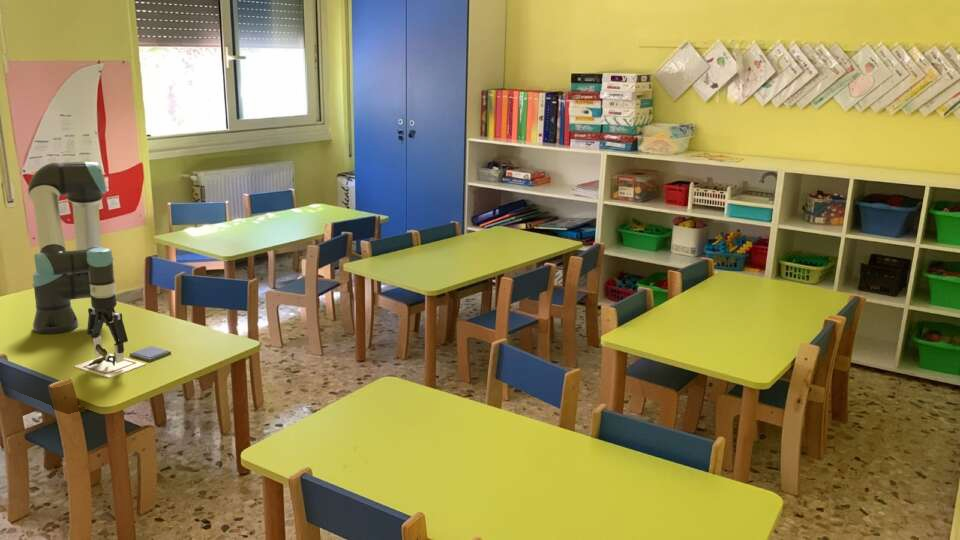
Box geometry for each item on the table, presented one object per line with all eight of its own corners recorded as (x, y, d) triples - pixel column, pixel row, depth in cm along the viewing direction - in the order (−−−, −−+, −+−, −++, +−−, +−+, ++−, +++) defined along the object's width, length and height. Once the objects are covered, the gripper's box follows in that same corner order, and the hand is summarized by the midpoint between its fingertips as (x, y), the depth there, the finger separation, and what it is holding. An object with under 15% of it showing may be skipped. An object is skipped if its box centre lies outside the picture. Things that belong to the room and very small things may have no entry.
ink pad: (129, 356, 275) (129, 352, 275) (151, 348, 283) (150, 345, 282) (149, 361, 271) (149, 358, 270) (170, 353, 278) (170, 350, 278)
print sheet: (73, 367, 264) (73, 365, 264) (110, 354, 276) (110, 353, 276) (110, 378, 256) (109, 376, 256) (145, 364, 268) (145, 363, 268)
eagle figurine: (123, 356, 268) (97, 350, 268) (119, 344, 262) (93, 338, 263) (112, 374, 263) (86, 368, 263) (108, 362, 257) (81, 356, 257)
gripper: (70, 292, 261) (77, 355, 267) (116, 303, 251) (122, 368, 257) (90, 287, 268) (97, 348, 274) (136, 297, 258) (141, 361, 264)
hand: (109, 358), depth 265 cm, fingers closed on eagle figurine, 10 cm apart
